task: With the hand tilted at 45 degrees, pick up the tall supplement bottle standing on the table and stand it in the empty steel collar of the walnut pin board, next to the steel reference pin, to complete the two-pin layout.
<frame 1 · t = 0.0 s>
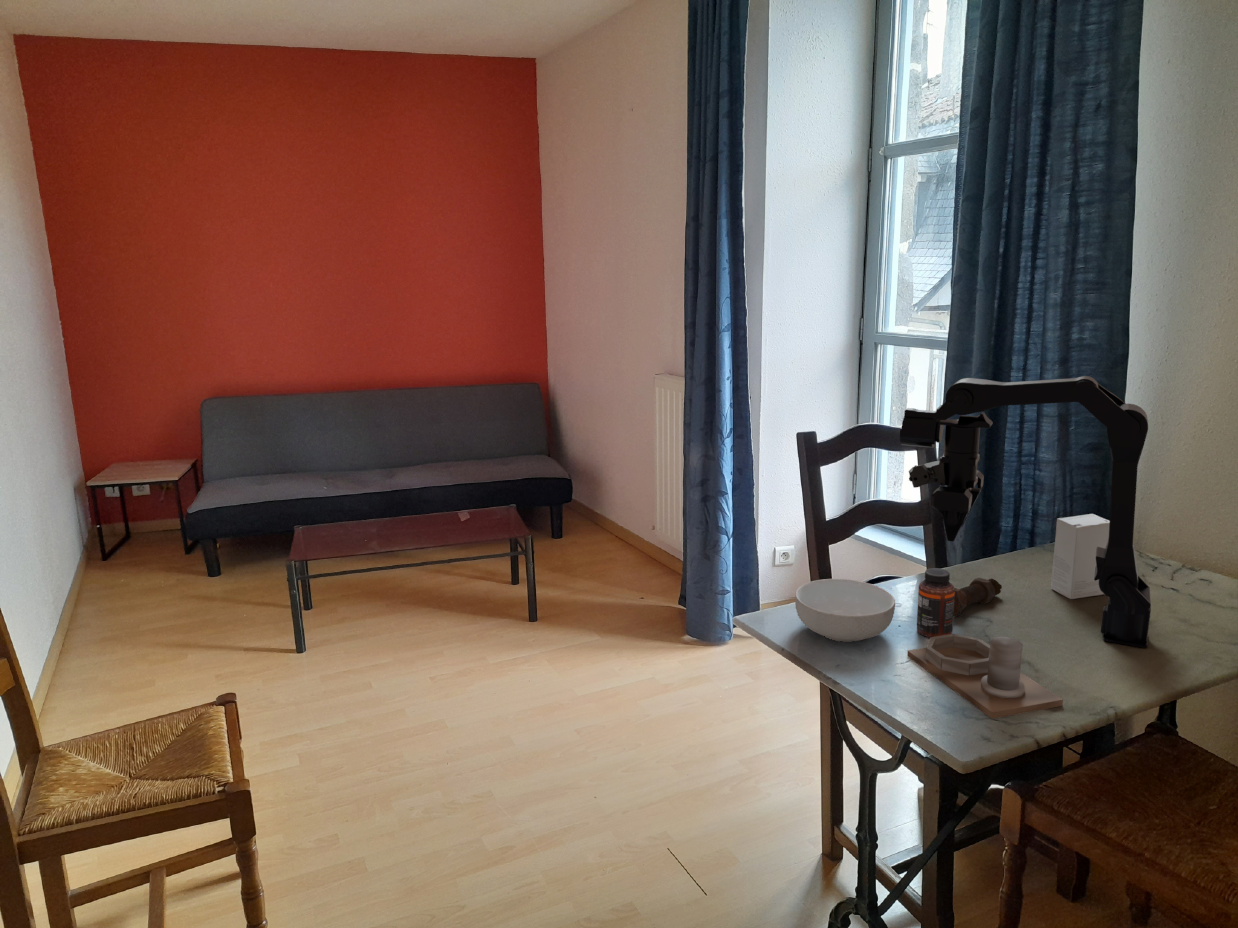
hand: (955, 533, 159), 15 cm above the table, tool pointing down, fingers open, 9 cm apart
cereal bowl: (843, 634, 154), on the table
bolt: (971, 606, 165), on the table
supplement bottle: (933, 633, 153), on the table
skincare box: (1077, 593, 169), on the table
pin board: (980, 679, 136), on the table
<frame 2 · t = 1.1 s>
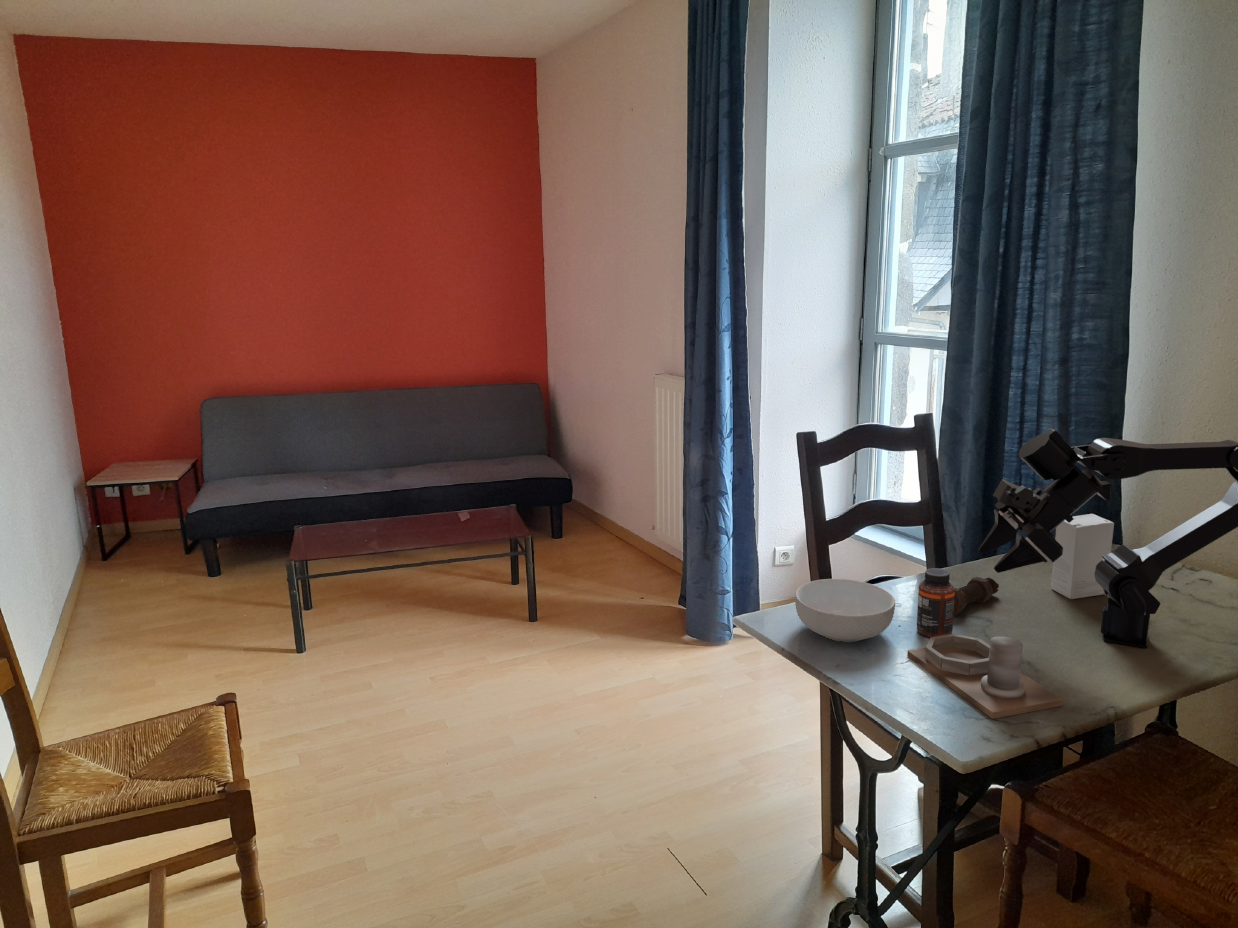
hand: (987, 561, 149), 13 cm above the table, tool tilted 45°, fingers open, 9 cm apart
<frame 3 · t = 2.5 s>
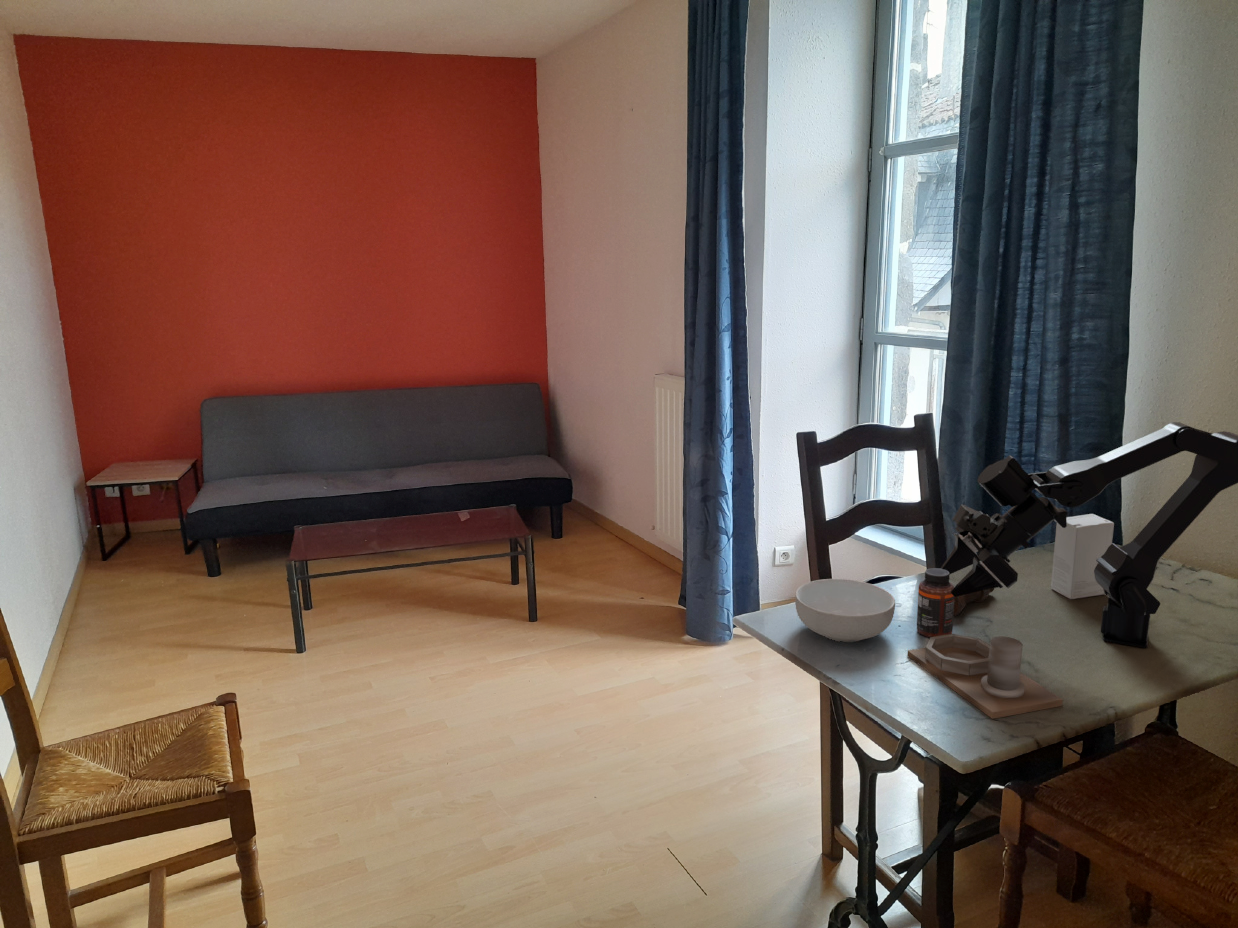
hand: (946, 584, 151), 9 cm above the table, tool tilted 45°, fingers open, 9 cm apart
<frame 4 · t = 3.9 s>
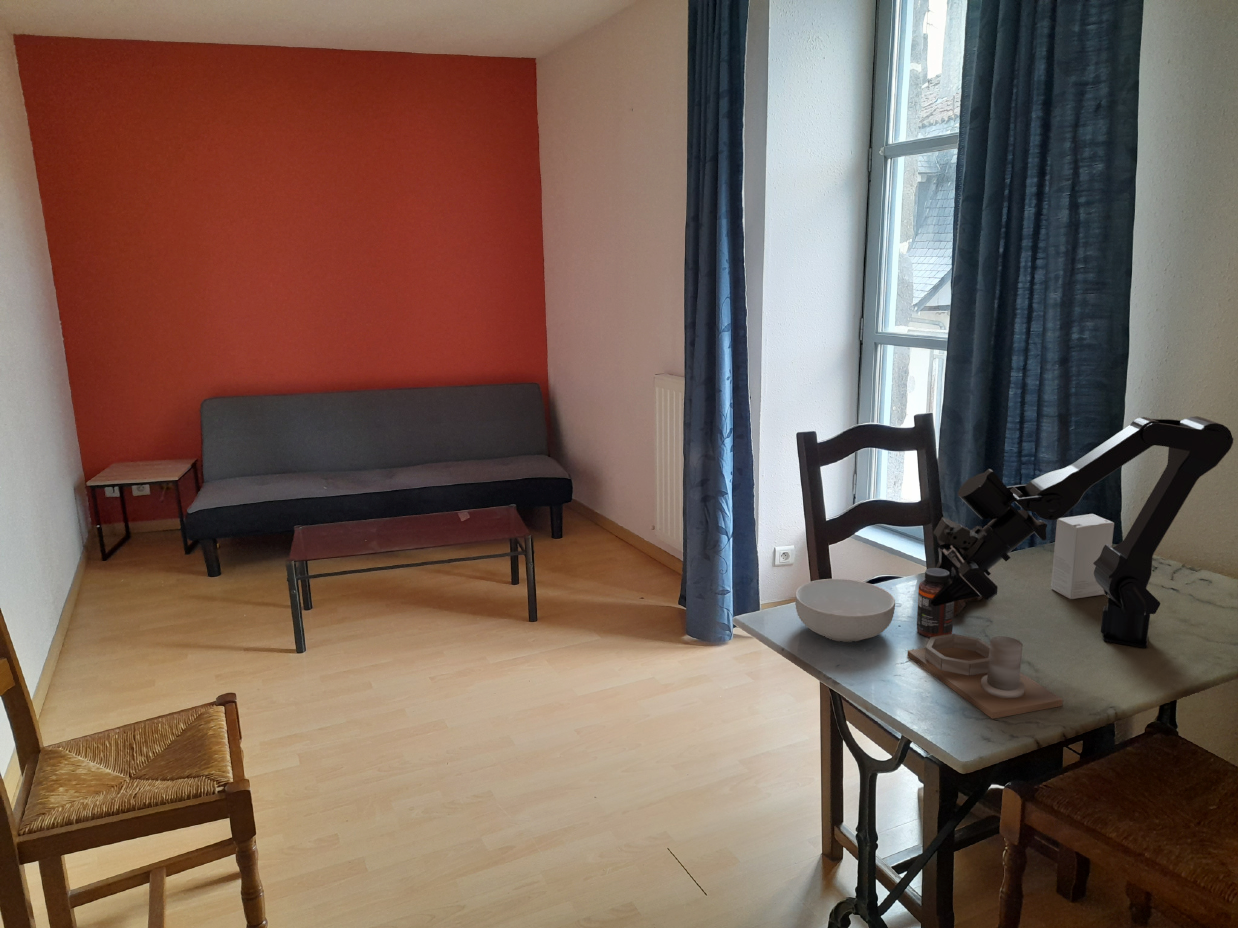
hand: (927, 596, 152), 7 cm above the table, tool tilted 45°, fingers closed on supplement bottle, 6 cm apart
supplement bottle: (933, 633, 153), on the table, touching gripper
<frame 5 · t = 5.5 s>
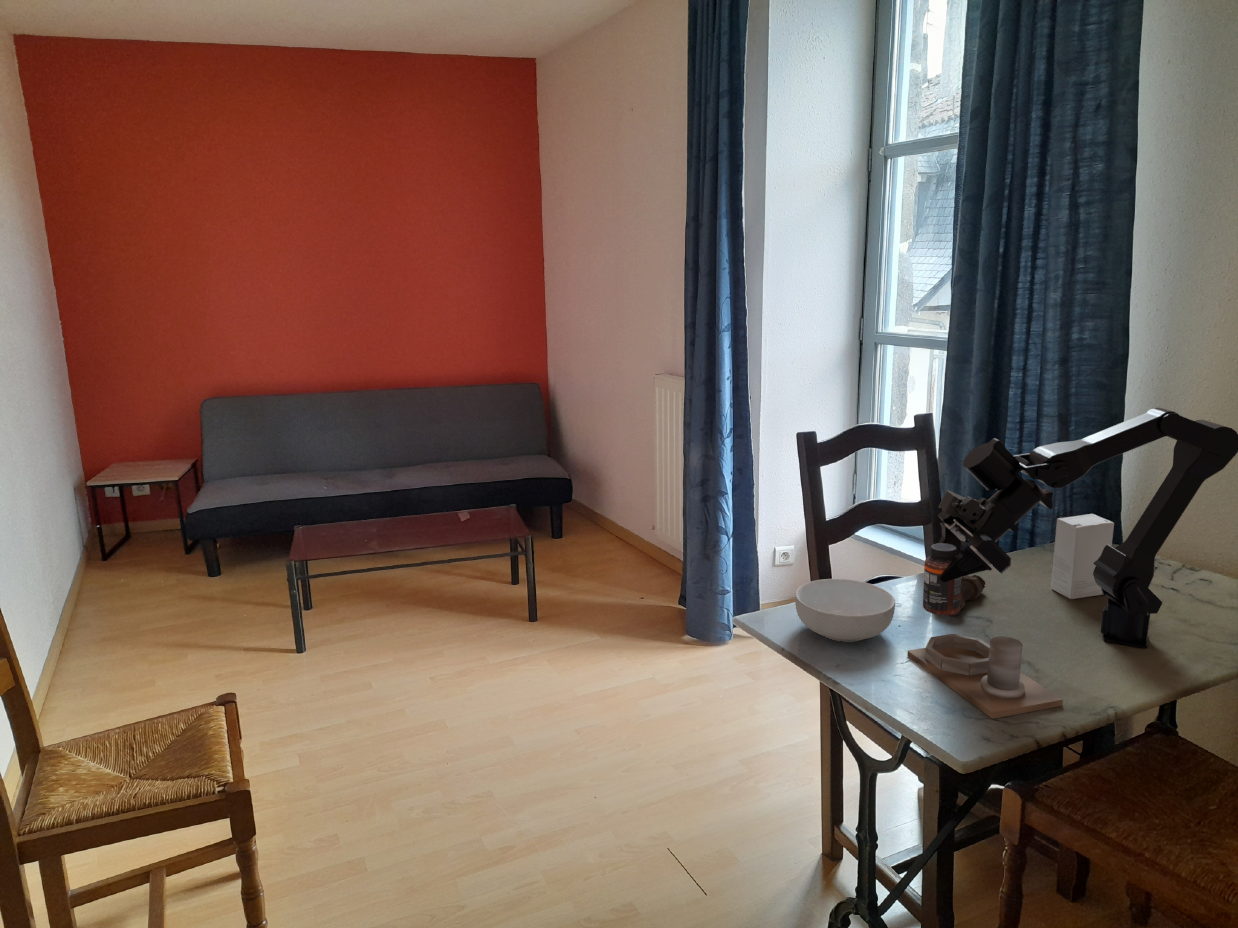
hand: (934, 573, 147), 12 cm above the table, tool tilted 45°, fingers closed on supplement bottle, 6 cm apart
supplement bottle: (940, 610, 149), point 5 cm above the table, touching gripper
when the fingers open (9 cm above the table, at t = 7.4 s): supplement bottle drops 1 cm, resting on pin board.
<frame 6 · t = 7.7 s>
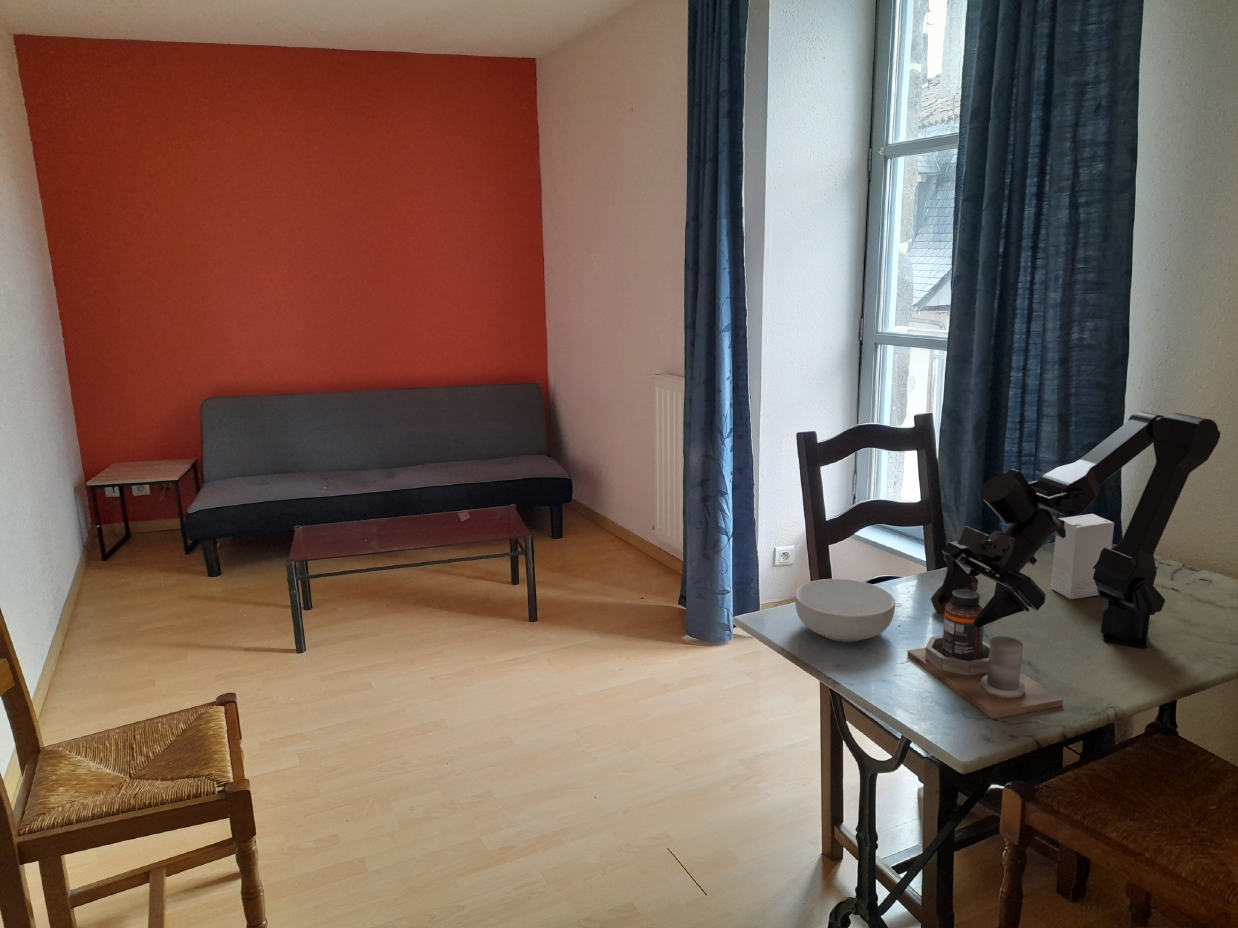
hand: (956, 614, 138), 9 cm above the table, tool tilted 45°, fingers open, 9 cm apart
supplement bottle: (961, 660, 141), point 1 cm above the table, touching pin board
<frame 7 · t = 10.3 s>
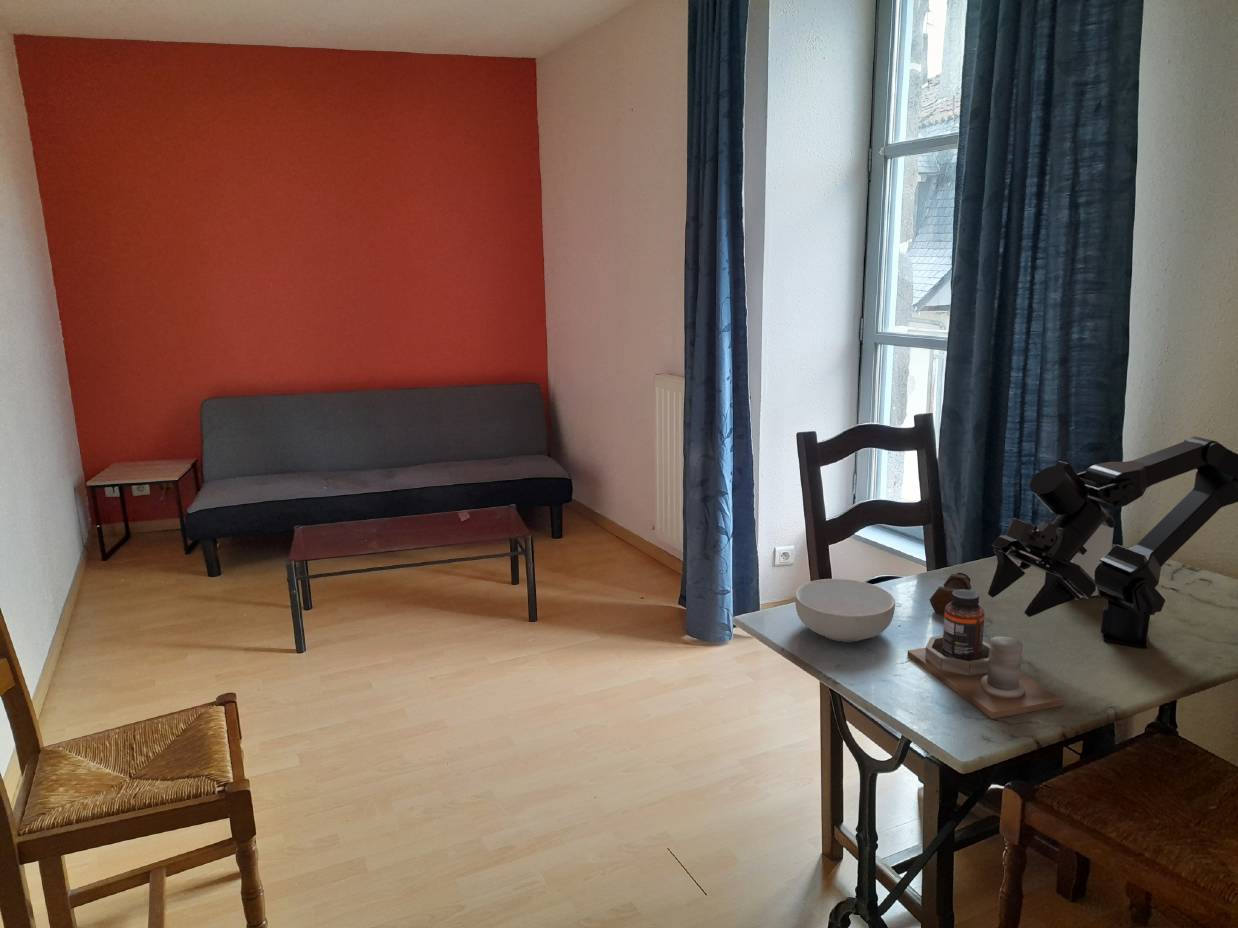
hand: (1007, 605, 141), 9 cm above the table, tool tilted 45°, fingers open, 9 cm apart
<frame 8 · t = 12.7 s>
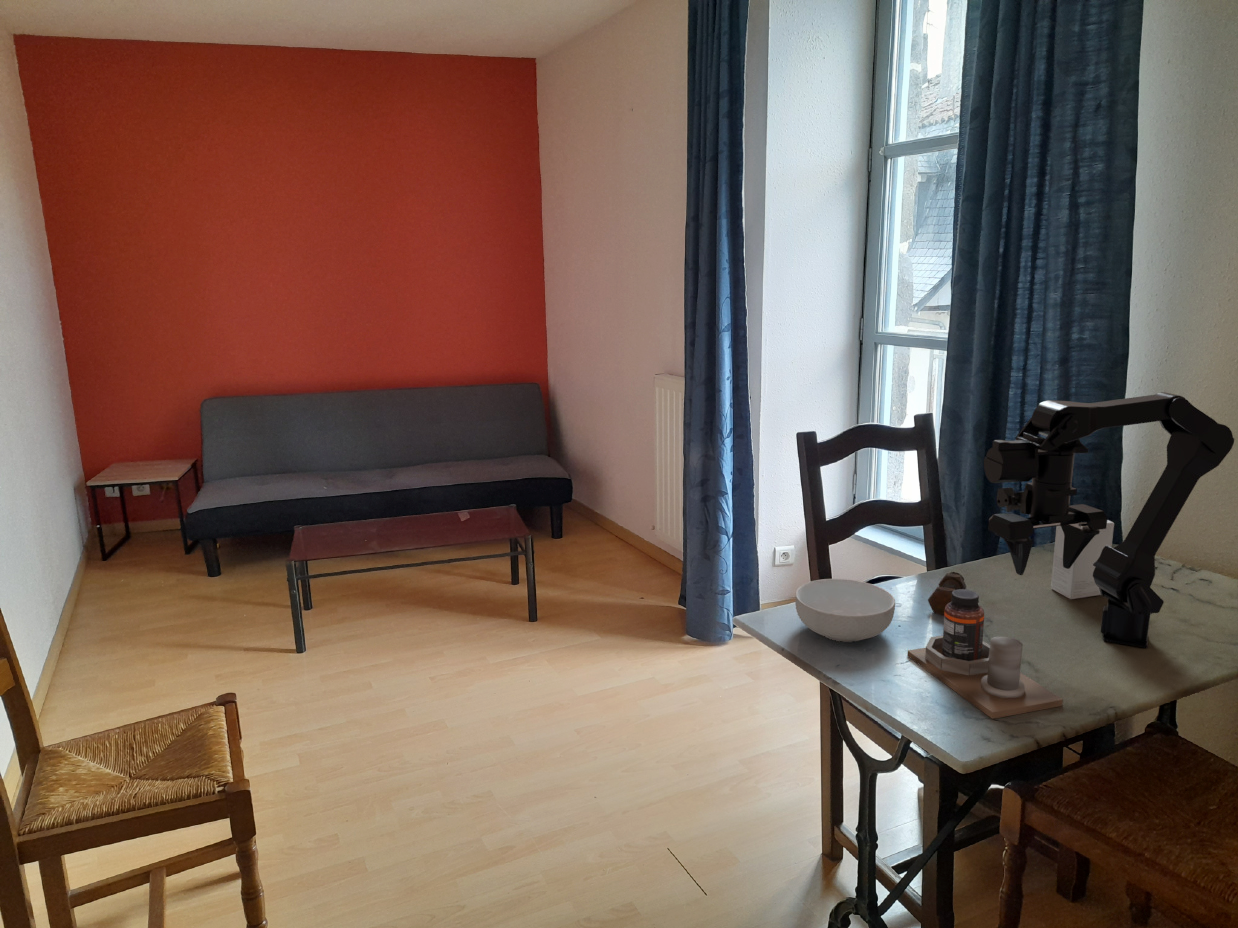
hand: (1043, 571, 145), 13 cm above the table, tool pointing down, fingers open, 9 cm apart
at the end: supplement bottle 0.1 cm from the target spot, point 0.8 cm above the table; supplement bottle tilted 0°; the gripper is holding nothing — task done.
